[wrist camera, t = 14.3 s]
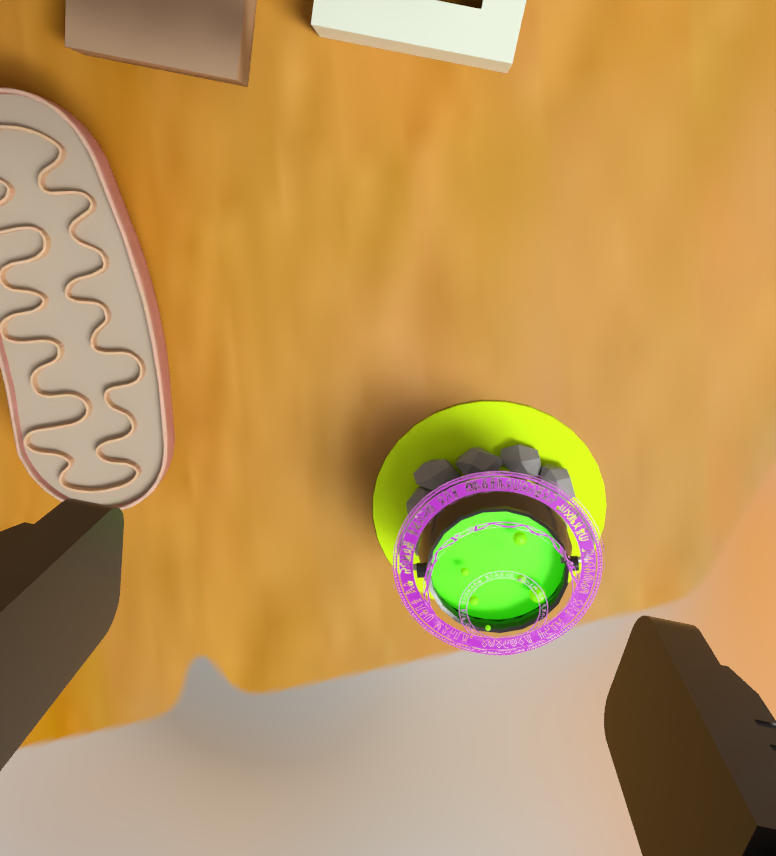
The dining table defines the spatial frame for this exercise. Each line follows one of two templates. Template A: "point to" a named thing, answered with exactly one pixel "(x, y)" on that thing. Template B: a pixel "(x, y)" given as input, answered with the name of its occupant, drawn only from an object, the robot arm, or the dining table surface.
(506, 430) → the toy cauldron
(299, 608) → the dining table surface
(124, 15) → the brown rectangular frame
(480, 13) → the white square frame
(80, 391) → the anatomical model
